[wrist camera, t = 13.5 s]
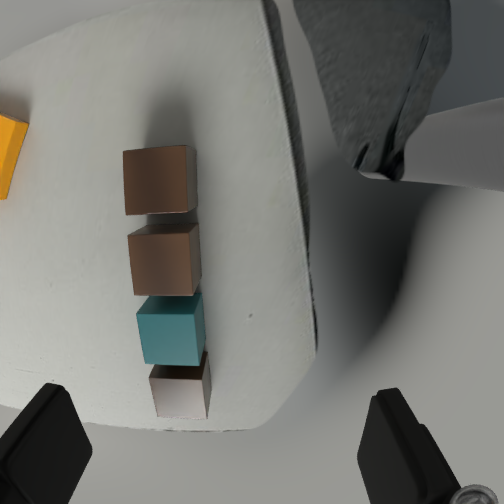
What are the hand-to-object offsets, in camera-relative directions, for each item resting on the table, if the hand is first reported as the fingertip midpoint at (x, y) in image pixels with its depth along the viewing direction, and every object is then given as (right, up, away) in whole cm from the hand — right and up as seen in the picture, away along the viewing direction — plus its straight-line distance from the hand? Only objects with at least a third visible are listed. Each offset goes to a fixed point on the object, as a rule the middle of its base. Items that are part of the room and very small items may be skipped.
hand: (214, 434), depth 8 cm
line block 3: (-5, -6, +21) cm, 23 cm away
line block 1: (-6, +11, +17) cm, 21 cm away
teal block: (-5, 0, +20) cm, 21 cm away
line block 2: (-6, +5, +19) cm, 20 cm away
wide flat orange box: (-26, +16, +16) cm, 34 cm away
